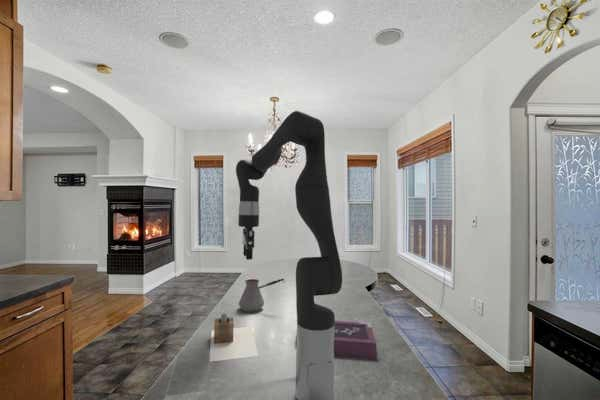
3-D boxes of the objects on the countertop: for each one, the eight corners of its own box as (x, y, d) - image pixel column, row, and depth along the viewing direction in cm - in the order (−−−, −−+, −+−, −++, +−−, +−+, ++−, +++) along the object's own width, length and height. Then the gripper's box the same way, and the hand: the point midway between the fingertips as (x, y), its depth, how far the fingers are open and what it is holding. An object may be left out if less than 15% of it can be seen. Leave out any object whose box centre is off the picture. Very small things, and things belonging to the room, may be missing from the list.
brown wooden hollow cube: (233, 342, 92) (233, 323, 93) (213, 344, 91) (214, 325, 91) (232, 334, 98) (232, 316, 98) (214, 336, 96) (214, 318, 97)
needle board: (258, 361, 84) (259, 327, 84) (209, 367, 80) (210, 331, 80) (250, 330, 105) (251, 303, 105) (211, 334, 101) (212, 306, 101)
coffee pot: (233, 312, 124) (234, 277, 125) (245, 304, 135) (246, 272, 136) (279, 317, 119) (280, 281, 119) (287, 308, 130) (288, 275, 131)
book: (370, 336, 103) (370, 322, 103) (376, 359, 87) (376, 342, 87) (301, 331, 106) (301, 318, 107) (295, 352, 90) (295, 336, 91)
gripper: (262, 214, 100) (260, 260, 99) (256, 213, 113) (255, 254, 113) (240, 214, 98) (239, 261, 97) (237, 213, 111) (235, 254, 110)
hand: (247, 257), depth 105 cm, fingers open, 8 cm apart
